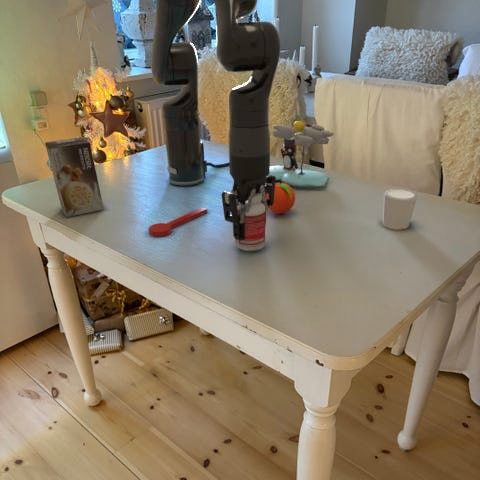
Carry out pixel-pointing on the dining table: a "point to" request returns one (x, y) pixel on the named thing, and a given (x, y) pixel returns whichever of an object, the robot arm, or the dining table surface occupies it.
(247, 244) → the pill bottle
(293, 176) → the penguin figurine
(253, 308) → the dining table surface
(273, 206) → the clementine
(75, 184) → the coffee box
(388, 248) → the dining table surface
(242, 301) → the dining table surface
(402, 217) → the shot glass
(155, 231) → the spoon
